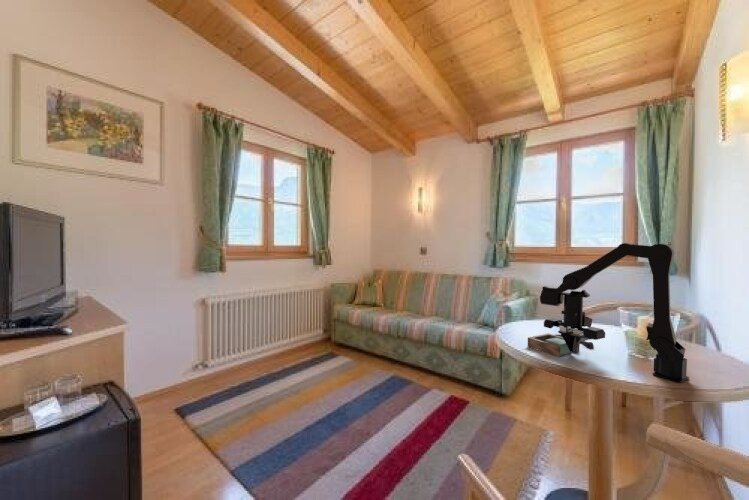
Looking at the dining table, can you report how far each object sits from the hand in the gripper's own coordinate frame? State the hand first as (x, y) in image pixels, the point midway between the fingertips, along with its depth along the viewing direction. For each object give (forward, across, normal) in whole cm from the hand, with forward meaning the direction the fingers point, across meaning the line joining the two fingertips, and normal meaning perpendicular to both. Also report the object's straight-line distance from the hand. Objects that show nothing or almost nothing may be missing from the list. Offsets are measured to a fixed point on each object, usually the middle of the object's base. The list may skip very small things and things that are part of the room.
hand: (572, 352), depth 117 cm
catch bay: (+1, +7, 0) cm, 7 cm away
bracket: (+2, +7, -18) cm, 19 cm away
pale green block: (+1, +5, 0) cm, 5 cm away
